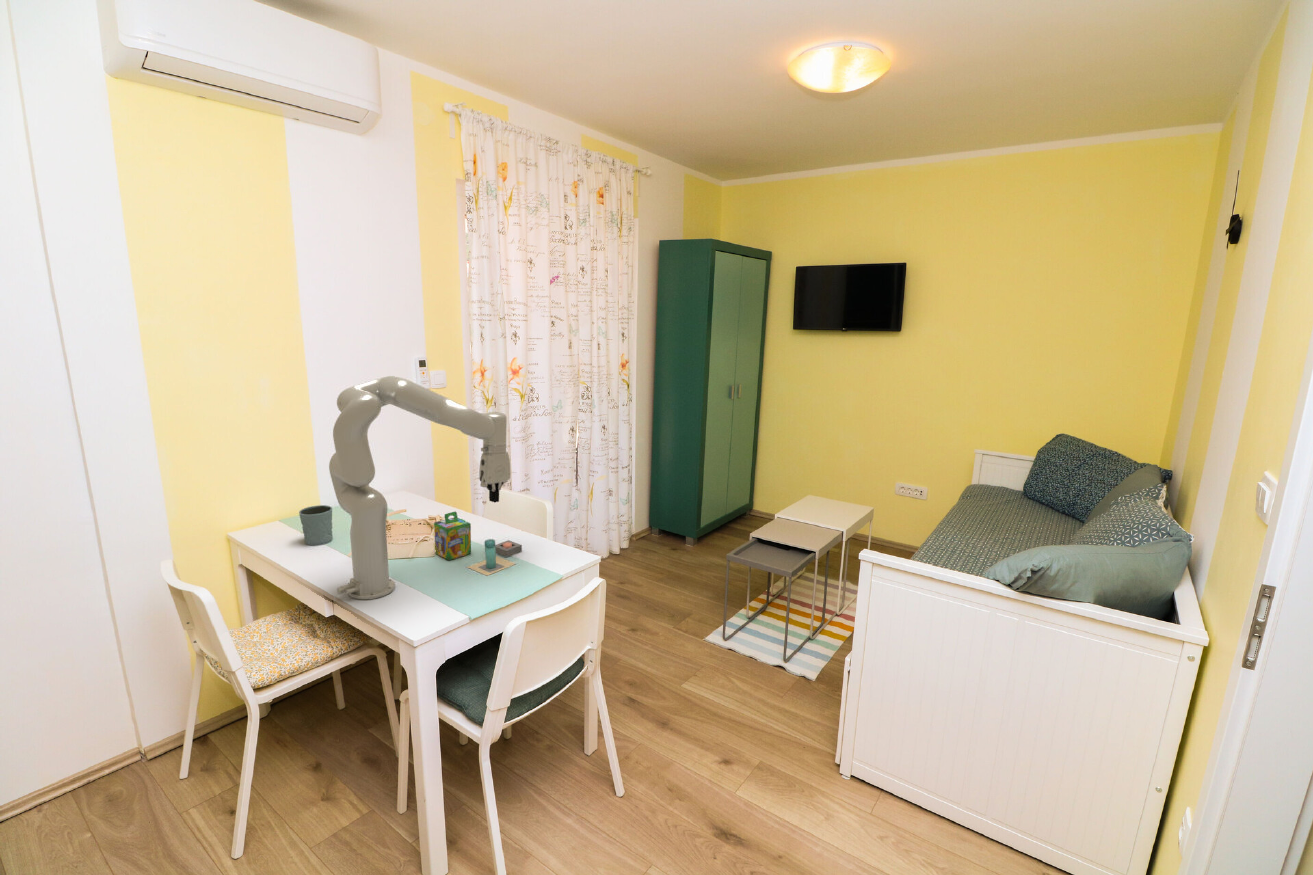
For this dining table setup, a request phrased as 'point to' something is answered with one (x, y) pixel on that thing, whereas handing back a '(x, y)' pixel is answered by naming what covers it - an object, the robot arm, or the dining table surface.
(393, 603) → the dining table surface
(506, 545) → the button
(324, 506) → the teal grey cup
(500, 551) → the button collar
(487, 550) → the teal cylinder
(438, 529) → the chalk box
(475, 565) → the sheet
